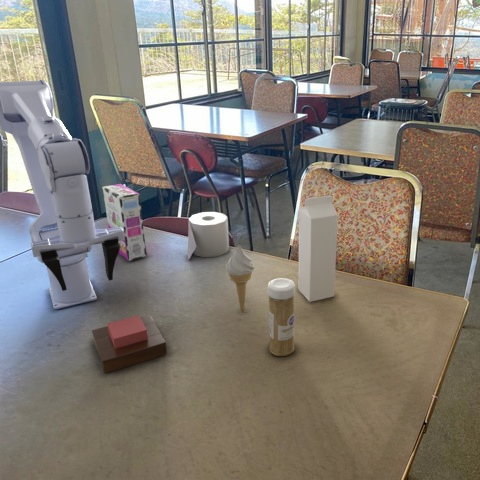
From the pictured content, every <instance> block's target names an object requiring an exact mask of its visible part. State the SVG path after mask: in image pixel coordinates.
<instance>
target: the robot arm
mask: <svg viewBox="0 0 480 480" xmlns="http://www.w3.org/2000/svg"><path fill="white" fill-rule="evenodd" d="M54 106H55V105H54V96H53V93H52V90H51V87H50V85H49V83H48V82H46V80H44V79H39V80H20V81H19V80H17V81H16V80H15V81H0V131H2V132H4V133H7V134H10V135H11V136H12V137H13V139H14V141H15V143H16V144H17V147H18V149H19V152H20V156H21V159H22V161H23V164H24V167H25V171H26V174H27V176H28V177H27V178H28V180H29V183H30V186H31V189H32V192H33V195H34V198H35V201H36V205H37V208H38V211H39V215H38V216H37V217H36V218H35V219H34V220H33V221H32V222H31V223H30V225H29V228H28V229H29V231H28V233H29V235H30V240H31V241H30V247H31V251H32V256H33V258H36V260H37V261H38V262H39V263H41V264H44V266H46V271H47V275H48V280H49V284H50V287H48V291H49V294H50V298H51V303H52V307H53V309H54V310H59V309H63V308H68V307H71V306H77V305H80V304H85V303H88V302H93V301H96V300H97V298H98V297H97V294H96V291H95V290H94V287H93V284H92V282H91V279H90V274H89V268H88V263H87V258H89V256H88V255H89V254H88V253H91V251H92V249H93V246H95V245H99V244H101V248H102V252H103V257H104V265H105V266H104V268H105V274H106V277H107V279H108V281H113V280H114V268H115V264H116V260H117V257H118V255H119V251H120V244H119V242H118V241H124V240H125V238H124V231H123V229H122V228H121V227H119V228H110V229H109V228H96V224H95V218H94V211H93V206H92V201H91V200H92V199H91V194H90V189H89V182H88V176H87V175H89V174H90V170H91V164H90V158H89V154H88V152H87V148H86V145H85V144H84V142H83V141H82V139H80V138H76V137H74V138H73V137H72V136H71V135H70V133H69V131H68V129H66V127H65V125H64V124H63V122H62V121H61V120H60V119H59V118H57V117H55V116H54Z"/></svg>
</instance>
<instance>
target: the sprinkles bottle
mask: <svg viewBox="0 0 480 480" xmlns="http://www.w3.org/2000/svg"><path fill="white" fill-rule="evenodd" d="M295 294H296V285H295V282H294V280H291V279H290V278H285V277H278V278H274V279H272V280H270V281H269V282H268V283H267V296H268V328H269V329H268V331H269V334H268V335H269V352H270V353H271V354H273V355H274V356H278V357H286V356H289V355H291V354H292V353H293V352H294V351H295V342H294V341H295Z"/></svg>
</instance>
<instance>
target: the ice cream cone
mask: <svg viewBox="0 0 480 480" xmlns="http://www.w3.org/2000/svg"><path fill="white" fill-rule="evenodd" d="M252 262H253V260H252V259H251V258H250V257H249V256H248V255H247V253H246V252H245V251H244V249H243V247H242V246H241V245H240V244H238V246H237V248H236V250H235V251H234V252H233V254H232V255H231V257H230V258H229V260H228V261H226V264H225V266H224V267H225V269H226V273H227V274H228V275H229V279H230V281H232V282H233V283H234V284H235V287H236V293H237V299H238V303H239V309H240V312H241V313H244V312H245V304H246V292H247V283H248V281H250V280H251V278H252V274H253V272H254V271H255V264H254V263H252Z"/></svg>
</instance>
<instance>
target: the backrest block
mask: <svg viewBox="0 0 480 480" xmlns="http://www.w3.org/2000/svg"><path fill="white" fill-rule="evenodd" d="M140 318H141V320H142V322H143V324H144V326H145V328H146V329H147V336H148V339H147V340H144V341H140V342H137V343H134V344H130V345H127V346H123V347H120V348H116V349H115V347H114V344H113V342H112V339H111V337H110V334H109V331H108V325H105V326H103V327H98V328H96V329H95V328H94V329H91V333H92V339H93V343H94V346H95V349H96V353H97V355H98V358H99V361H100V364H101V367H102V369H103V373H104V374H107V373H111V372H114V371H118V370H120V369H124V368H127V367H130V366H133V365H136V364H141V363H143V362H146V361H150V360H153V359H155V358H158V357H162V356H165V355H167V354H168V349H167V343H166V340H165V338H164V336H163V335H162V333H161V331H160V329H159V328H158V326H157V325H156V323H155V321H154V319H153V318H152V316H151V314H148V315H144V316H140Z"/></svg>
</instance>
